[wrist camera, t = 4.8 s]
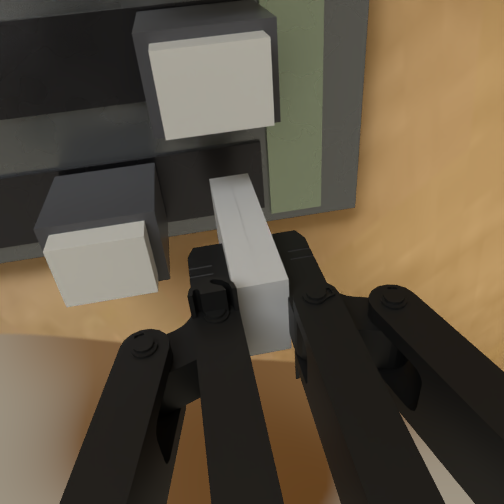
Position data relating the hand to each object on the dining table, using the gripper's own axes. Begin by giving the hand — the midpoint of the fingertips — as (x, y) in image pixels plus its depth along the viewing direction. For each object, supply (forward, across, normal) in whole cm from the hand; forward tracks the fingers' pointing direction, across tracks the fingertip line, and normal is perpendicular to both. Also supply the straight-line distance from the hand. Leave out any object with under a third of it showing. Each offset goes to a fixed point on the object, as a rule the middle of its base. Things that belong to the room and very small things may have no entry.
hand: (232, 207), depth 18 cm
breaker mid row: (+2, 0, +5) cm, 6 cm away
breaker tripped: (+2, -5, 0) cm, 5 cm away
